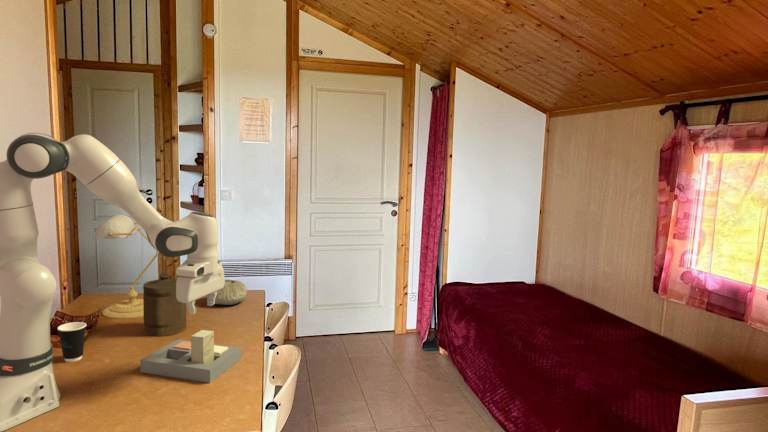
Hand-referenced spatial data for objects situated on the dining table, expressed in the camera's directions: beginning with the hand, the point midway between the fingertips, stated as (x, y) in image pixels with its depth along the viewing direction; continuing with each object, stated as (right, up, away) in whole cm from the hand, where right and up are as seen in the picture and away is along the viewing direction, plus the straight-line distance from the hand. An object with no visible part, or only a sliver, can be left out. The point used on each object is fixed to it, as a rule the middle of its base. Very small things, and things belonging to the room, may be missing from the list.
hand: (202, 309), depth 150 cm
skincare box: (-1, -20, +3) cm, 20 cm away
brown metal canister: (-28, -15, +37) cm, 49 cm away
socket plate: (-5, -19, +6) cm, 21 cm away
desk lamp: (-52, -12, +58) cm, 78 cm away
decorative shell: (-16, -11, +72) cm, 75 cm away
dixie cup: (-45, -18, +8) cm, 49 cm away
